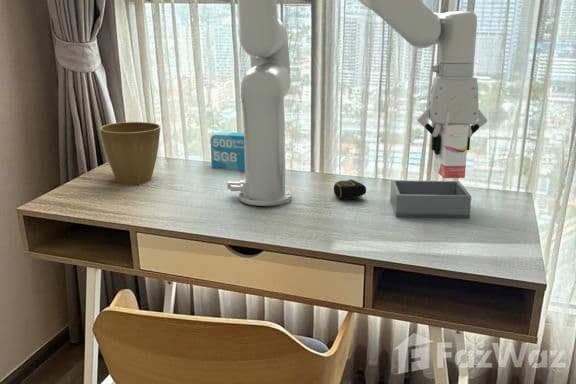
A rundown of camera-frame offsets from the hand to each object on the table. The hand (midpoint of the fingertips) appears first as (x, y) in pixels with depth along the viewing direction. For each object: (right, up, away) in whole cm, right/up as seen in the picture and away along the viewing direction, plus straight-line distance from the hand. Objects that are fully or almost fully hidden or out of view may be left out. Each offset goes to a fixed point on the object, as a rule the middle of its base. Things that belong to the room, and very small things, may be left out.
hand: (450, 152), depth 136 cm
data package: (-51, -5, +34) cm, 61 cm away
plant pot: (-76, -8, +23) cm, 80 cm away
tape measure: (-18, -10, +12) cm, 24 cm away
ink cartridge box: (0, -5, +1) cm, 5 cm away
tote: (-4, -13, +4) cm, 14 cm away
